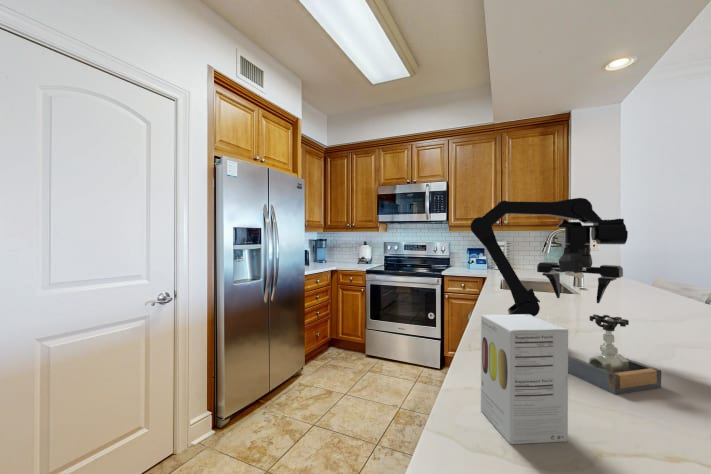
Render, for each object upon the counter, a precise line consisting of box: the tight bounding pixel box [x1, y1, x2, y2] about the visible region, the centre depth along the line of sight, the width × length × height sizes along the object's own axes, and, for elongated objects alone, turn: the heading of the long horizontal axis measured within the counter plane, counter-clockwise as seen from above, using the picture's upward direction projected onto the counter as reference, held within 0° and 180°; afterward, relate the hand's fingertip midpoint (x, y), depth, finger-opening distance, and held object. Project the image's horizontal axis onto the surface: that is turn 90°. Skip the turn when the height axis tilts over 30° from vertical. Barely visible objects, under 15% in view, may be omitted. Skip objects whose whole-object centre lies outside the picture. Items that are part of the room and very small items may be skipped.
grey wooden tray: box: [568, 354, 662, 395], centre depth 67 cm, size 11×12×4 cm
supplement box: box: [480, 314, 569, 445], centre depth 50 cm, size 10×9×17 cm
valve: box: [588, 314, 630, 373], centre depth 67 cm, size 7×7×12 cm
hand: (577, 300), depth 86 cm, fingers open, 9 cm apart
